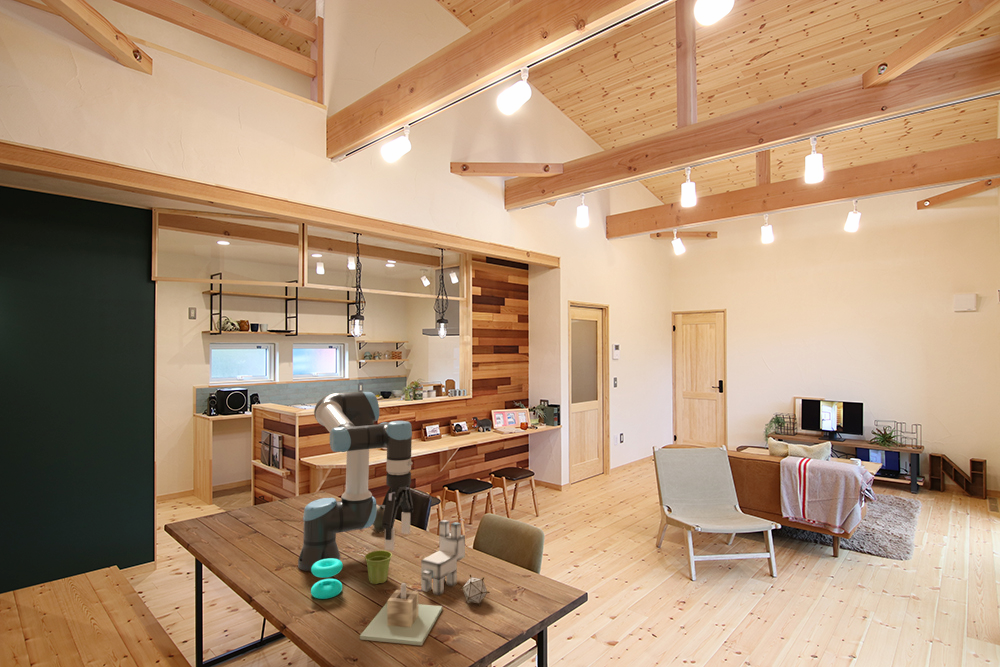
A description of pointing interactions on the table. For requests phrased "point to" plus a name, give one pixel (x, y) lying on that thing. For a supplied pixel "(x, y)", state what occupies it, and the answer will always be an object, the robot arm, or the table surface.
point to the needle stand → (402, 635)
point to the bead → (402, 609)
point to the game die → (474, 590)
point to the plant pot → (378, 565)
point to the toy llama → (443, 559)
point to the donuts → (326, 586)
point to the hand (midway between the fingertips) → (397, 541)
